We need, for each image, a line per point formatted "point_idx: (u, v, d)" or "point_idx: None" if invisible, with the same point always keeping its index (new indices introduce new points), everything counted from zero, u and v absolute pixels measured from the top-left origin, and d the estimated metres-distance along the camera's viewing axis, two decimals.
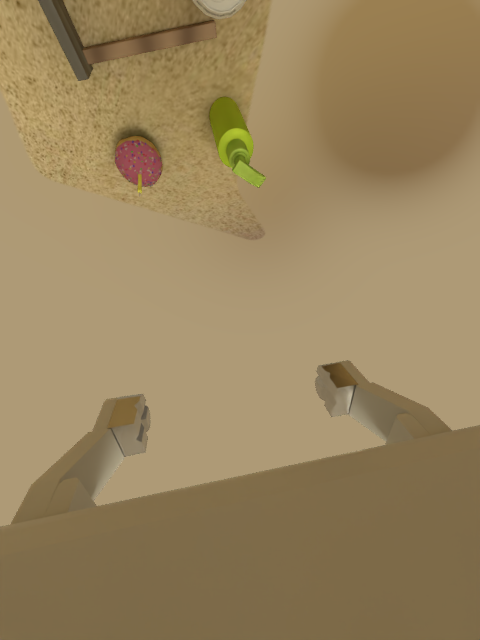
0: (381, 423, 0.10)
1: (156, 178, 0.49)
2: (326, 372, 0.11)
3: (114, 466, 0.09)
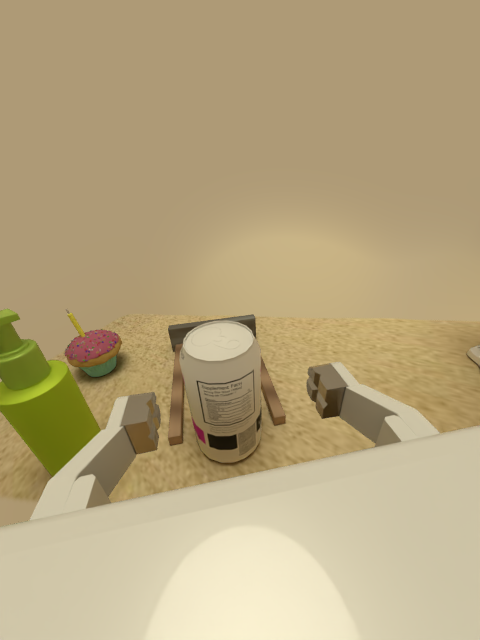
0: (371, 425, 0.10)
1: (68, 352, 0.40)
2: (316, 374, 0.11)
3: (126, 463, 0.09)
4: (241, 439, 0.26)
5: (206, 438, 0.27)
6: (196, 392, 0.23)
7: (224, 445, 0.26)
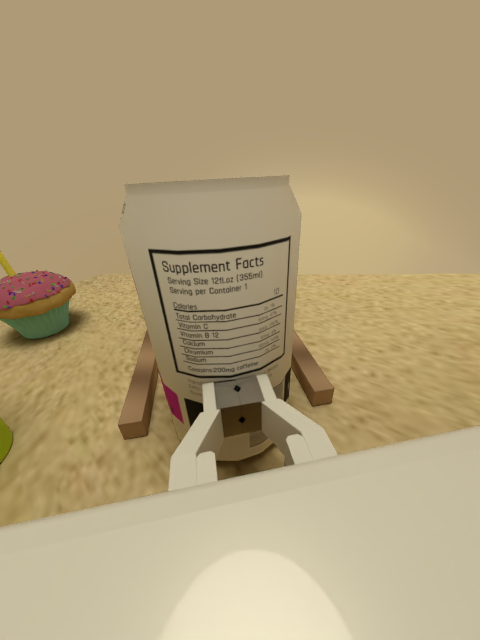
0: (285, 442, 0.09)
1: None
2: (238, 387, 0.10)
3: (219, 445, 0.10)
4: None
5: (184, 410, 0.13)
6: (152, 291, 0.10)
7: None
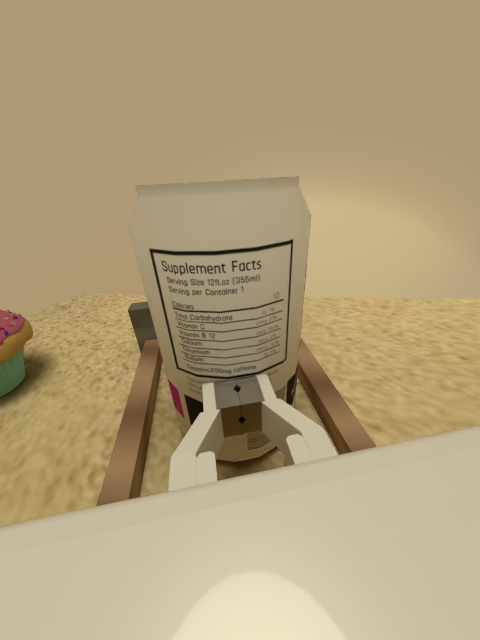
0: (285, 442, 0.09)
1: None
2: (238, 387, 0.10)
3: (219, 445, 0.10)
4: None
5: (184, 406, 0.13)
6: (154, 289, 0.10)
7: None
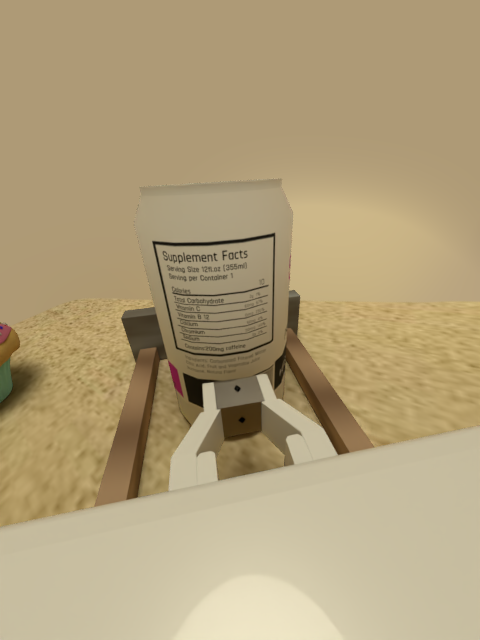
0: (285, 442, 0.09)
1: None
2: (238, 387, 0.10)
3: (219, 445, 0.10)
4: None
5: (183, 384, 0.15)
6: (156, 277, 0.12)
7: None
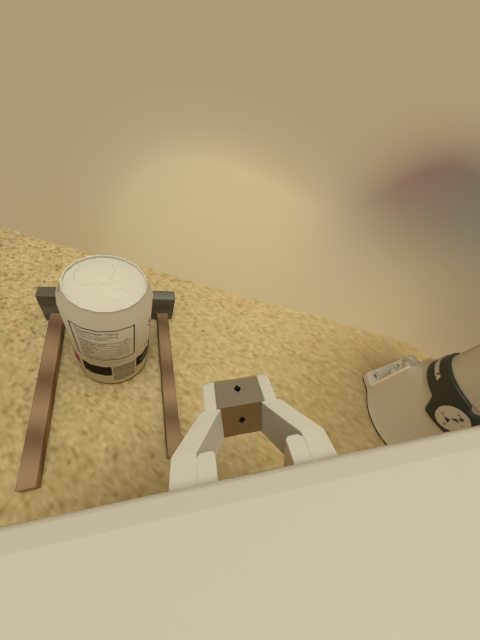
0: (285, 442, 0.09)
1: None
2: (238, 387, 0.10)
3: (219, 445, 0.10)
4: (116, 370, 0.29)
5: (82, 362, 0.28)
6: (68, 328, 0.23)
7: (98, 371, 0.28)
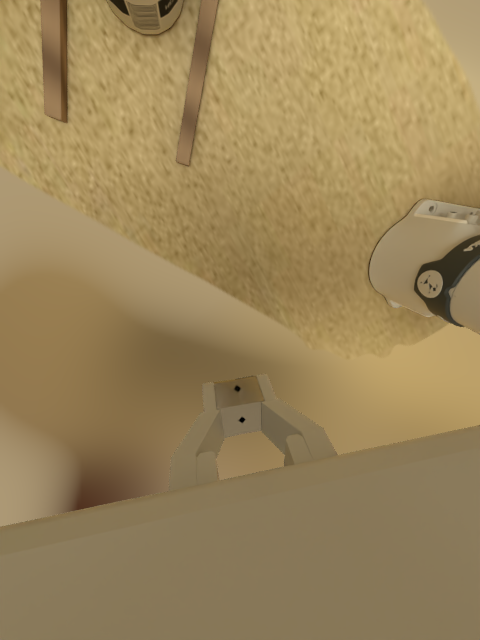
0: (285, 442, 0.09)
1: None
2: (238, 387, 0.10)
3: (219, 445, 0.10)
4: (133, 11, 0.22)
5: None
6: None
7: None
